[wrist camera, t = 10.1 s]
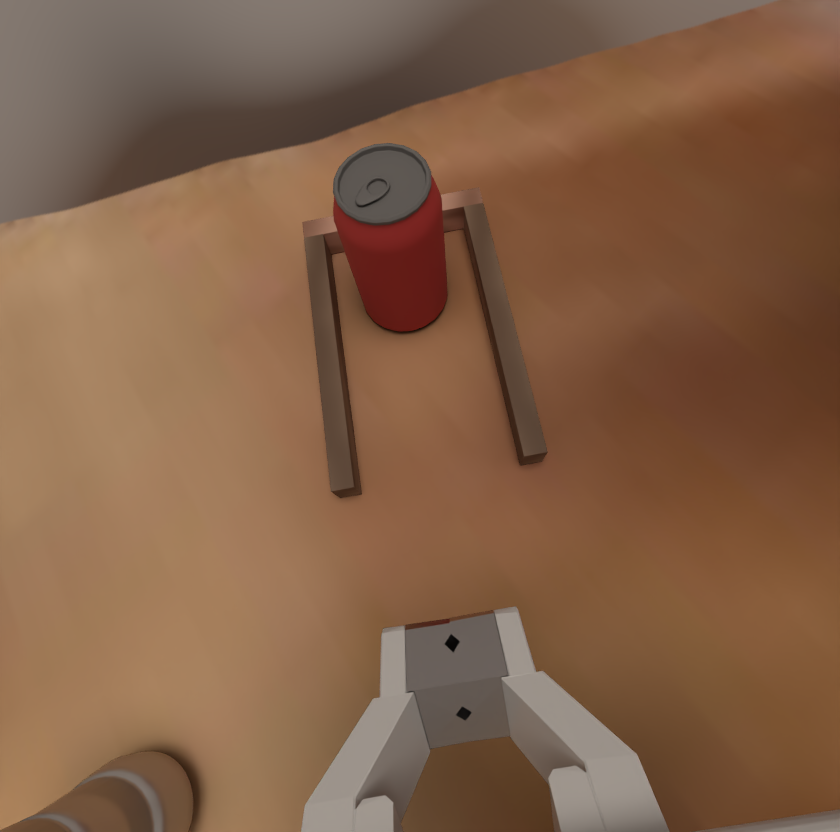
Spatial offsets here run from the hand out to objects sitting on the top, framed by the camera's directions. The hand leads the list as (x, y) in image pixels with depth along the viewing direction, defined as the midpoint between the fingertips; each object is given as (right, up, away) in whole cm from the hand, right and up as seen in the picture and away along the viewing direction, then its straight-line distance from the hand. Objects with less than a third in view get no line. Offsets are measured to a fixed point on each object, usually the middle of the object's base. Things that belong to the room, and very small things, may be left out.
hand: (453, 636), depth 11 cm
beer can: (-2, +14, +28) cm, 32 cm away
